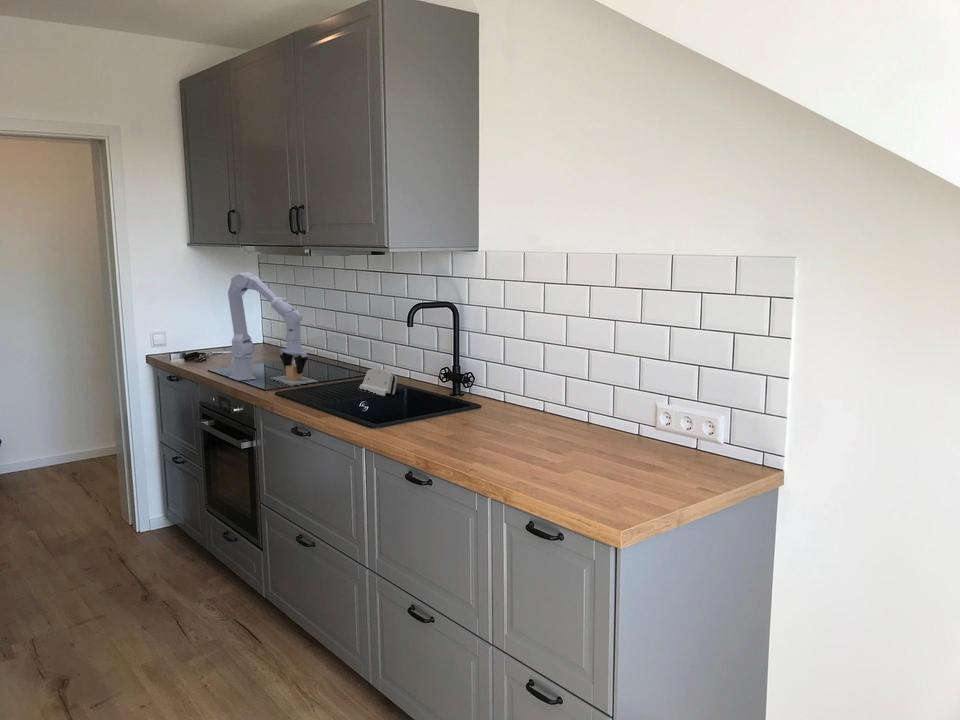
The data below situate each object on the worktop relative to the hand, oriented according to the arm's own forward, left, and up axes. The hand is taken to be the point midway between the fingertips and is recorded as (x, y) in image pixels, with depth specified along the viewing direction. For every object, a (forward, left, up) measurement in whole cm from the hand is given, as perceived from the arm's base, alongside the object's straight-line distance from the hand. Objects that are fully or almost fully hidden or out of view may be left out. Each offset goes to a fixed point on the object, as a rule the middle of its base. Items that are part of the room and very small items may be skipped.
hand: (293, 372), depth 326 cm
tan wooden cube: (0, 0, -3) cm, 3 cm away
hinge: (+37, +17, -4) cm, 41 cm away
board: (0, 0, -4) cm, 4 cm away
